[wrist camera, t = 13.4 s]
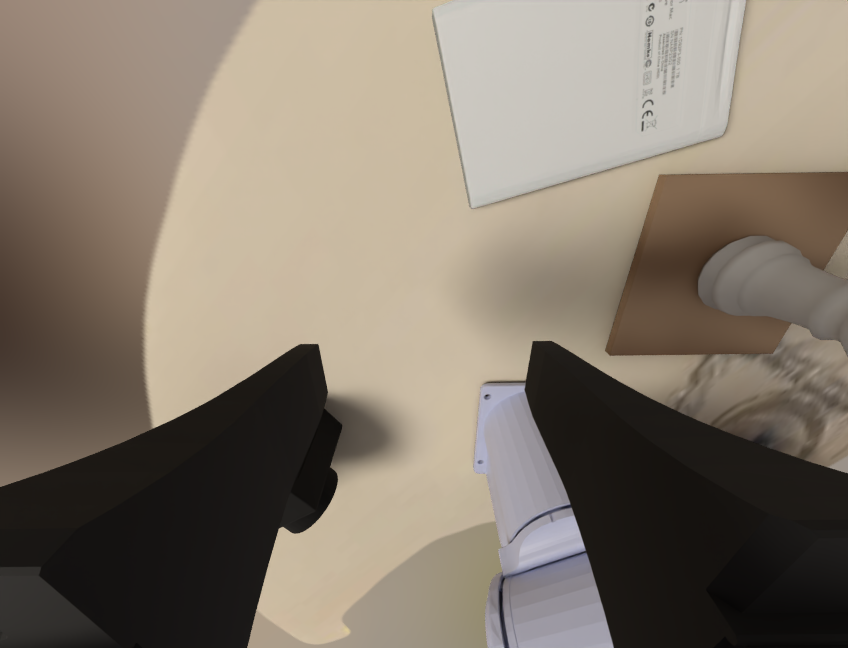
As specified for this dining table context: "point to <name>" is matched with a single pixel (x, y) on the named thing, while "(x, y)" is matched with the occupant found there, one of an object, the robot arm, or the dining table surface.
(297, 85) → the dining table surface
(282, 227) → the dining table surface
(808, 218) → the walnut coaster
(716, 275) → the rook chess piece
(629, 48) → the external hard drive
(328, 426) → the digital camera
